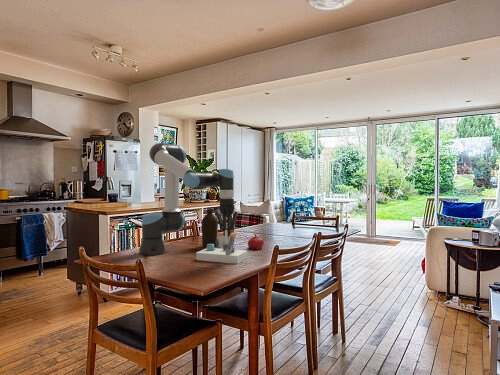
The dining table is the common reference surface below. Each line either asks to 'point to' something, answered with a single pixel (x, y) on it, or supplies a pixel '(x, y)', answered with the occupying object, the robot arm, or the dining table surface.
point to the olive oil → (209, 229)
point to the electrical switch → (220, 242)
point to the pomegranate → (255, 242)
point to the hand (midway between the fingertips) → (227, 242)
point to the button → (210, 247)
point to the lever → (231, 240)
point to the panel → (222, 255)
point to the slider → (225, 246)
